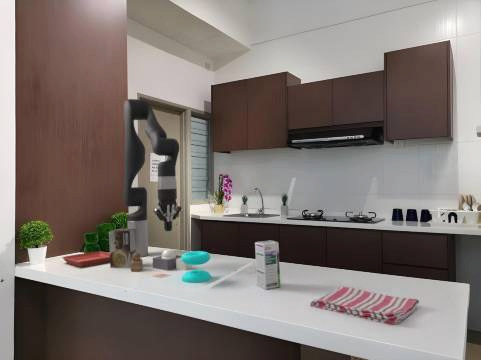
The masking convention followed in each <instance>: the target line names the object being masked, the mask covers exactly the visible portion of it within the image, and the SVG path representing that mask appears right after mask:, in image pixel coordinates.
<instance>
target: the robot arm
mask: <svg viewBox="0 0 481 360" xmlns="http://www.w3.org/2000/svg"><path fill="white" fill-rule="evenodd" d="M123 116H124V117H123V118H124V130H125V131H124V132H125V133H124V134H125V136H124V138H125V139H124V140H125V141H124V187H123V188H124V189H123V203H124V206H126V207H129V208H131V207H139V208H138V209H137V210H136V211H134V212H131V213H130V214H127V229H135V235H136V253H139V254H140V256H141V258H143V257H146V256H147V257H148V256H149V235H148V233H149V232H148V191H147V188H146V187H143V186H139V187H132V186H133V182H134V180H135V178H136V177H137V175H138V173H139V172H140V171H141V170H142V168H143V167H144V164H145V163H146V147H145V145H144V142H143V141H142V139H141V138H140V137H139V135H138V132H137V131H136V127H135V121H143V120H144V121H145V124H144V132H145V134H146V137H147V138H148V139H149V140H150V143H151V148H152V152H153V153H154V154H155V155H156V156H160V157H161V156H162V157H163V156H167V158H166V160H164V161H160V162H159V163H158V164H157V182H156V183H157V200H158V203H157V207H156V208H154V209H153V213H154V214H155V215H156V216H157V217H156V218H158V219H159V221H160V222H161V221H162V222H163V223H164V224H163V225H164V231H165V232H171V231H172V230H173V221H174V220H176V219H177V217H178V215H179V214H180V212H181V210H182V206H179V205H177V204H178V203H177V198H178V192H177V191H178V190H177V186H178V185H177V178H176V172H177V171H176V170H177V169H176V165H177V161H178V156H179V152H180V143H179V142H178V140H177V139H176V138H168V135H167V133H166V131H165V130H164V128H163V127H162V126H161V124H160V123H159V121H158V119H157V117H156V115H155V112H154V110H153V108H152V106H151V104H150V102H149V101H147V100H146V99H135V98H132V99H131V98H129V99H126V100H125V101H124V105H123Z"/></svg>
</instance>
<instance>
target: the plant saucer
mask: <svg viewBox="0 0 481 360" xmlns="http://www.w3.org/2000/svg"><path fill="white" fill-rule="evenodd" d="M61 258H62V259H63V260H64V262H66V263H67V264H68V265H71V266H75V267H78V268H84V267H85V268H86V267H91V266H97V265H103V264H107V263H110V252H105V251H94V252H93V251H92V252H87V253H79V254H72V255H66V256H62V257H61Z"/></svg>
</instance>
